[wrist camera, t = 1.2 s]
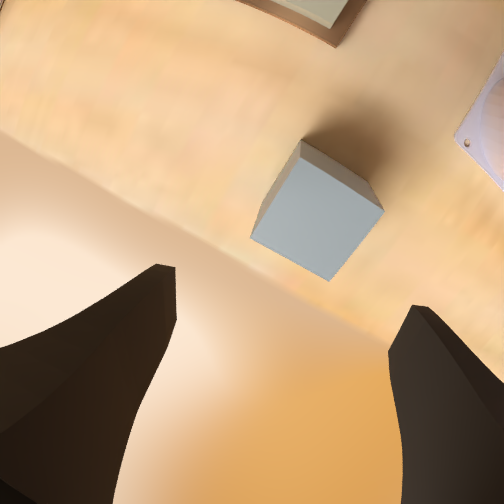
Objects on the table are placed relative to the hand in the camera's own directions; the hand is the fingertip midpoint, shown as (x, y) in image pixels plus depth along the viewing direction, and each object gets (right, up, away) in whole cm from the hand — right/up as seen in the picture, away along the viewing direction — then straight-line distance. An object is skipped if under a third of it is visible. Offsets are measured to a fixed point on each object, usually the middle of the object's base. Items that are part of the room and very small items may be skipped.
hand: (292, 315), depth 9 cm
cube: (+2, +5, +9) cm, 11 cm away
